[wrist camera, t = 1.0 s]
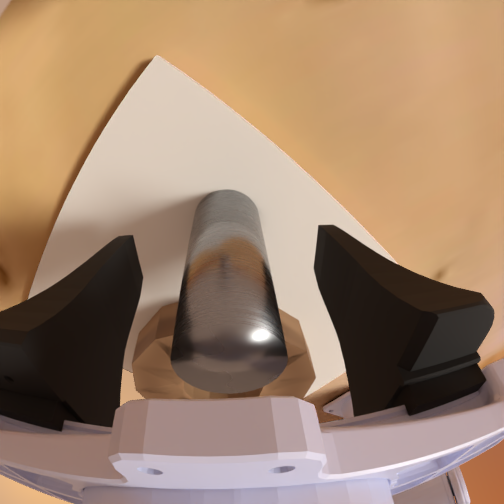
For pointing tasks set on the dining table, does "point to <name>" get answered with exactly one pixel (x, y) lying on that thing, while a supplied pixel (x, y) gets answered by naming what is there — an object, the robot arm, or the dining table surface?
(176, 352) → the peg
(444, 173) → the dining table surface
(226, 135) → the mat
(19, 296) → the dining table surface
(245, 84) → the dining table surface
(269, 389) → the ring
